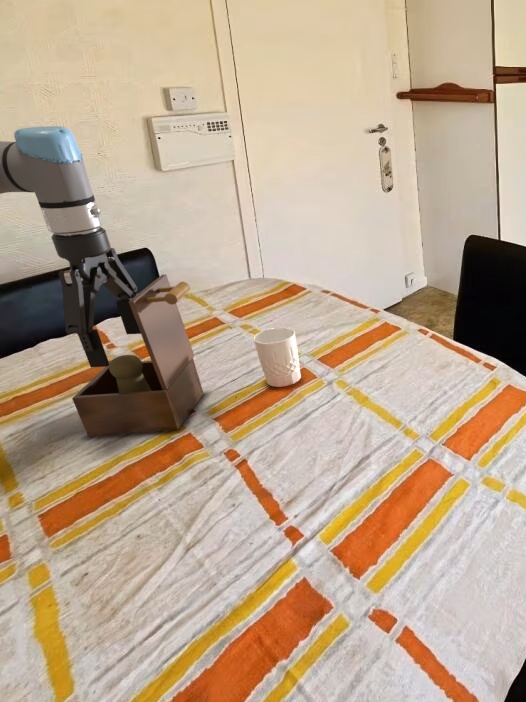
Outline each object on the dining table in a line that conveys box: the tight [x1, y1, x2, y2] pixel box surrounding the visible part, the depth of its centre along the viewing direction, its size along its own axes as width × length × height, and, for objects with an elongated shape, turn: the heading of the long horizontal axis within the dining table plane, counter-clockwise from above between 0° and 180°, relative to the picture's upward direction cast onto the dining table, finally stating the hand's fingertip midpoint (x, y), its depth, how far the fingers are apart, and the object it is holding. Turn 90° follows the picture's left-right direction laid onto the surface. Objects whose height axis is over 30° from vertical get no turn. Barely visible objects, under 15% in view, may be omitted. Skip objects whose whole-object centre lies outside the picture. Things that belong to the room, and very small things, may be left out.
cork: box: [109, 354, 151, 393], centre depth 114 cm, size 6×6×11 cm
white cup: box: [253, 326, 302, 388], centre depth 126 cm, size 8×8×10 cm
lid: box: [129, 273, 195, 390], centre depth 110 cm, size 16×14×6 cm
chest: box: [71, 357, 204, 437], centre depth 116 cm, size 16×14×8 cm
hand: (118, 348), depth 111 cm, fingers open, 13 cm apart
